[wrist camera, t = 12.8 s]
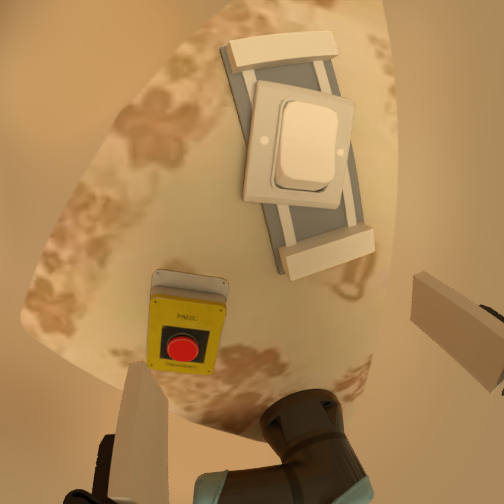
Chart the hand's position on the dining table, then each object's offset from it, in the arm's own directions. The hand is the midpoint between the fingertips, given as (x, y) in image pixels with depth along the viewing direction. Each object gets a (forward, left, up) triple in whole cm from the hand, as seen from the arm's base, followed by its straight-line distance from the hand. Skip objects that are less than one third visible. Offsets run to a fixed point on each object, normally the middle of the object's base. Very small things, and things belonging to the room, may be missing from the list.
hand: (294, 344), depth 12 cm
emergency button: (-11, +10, -22) cm, 27 cm away
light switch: (+6, -9, -20) cm, 23 cm away
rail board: (+6, -10, -22) cm, 24 cm away
